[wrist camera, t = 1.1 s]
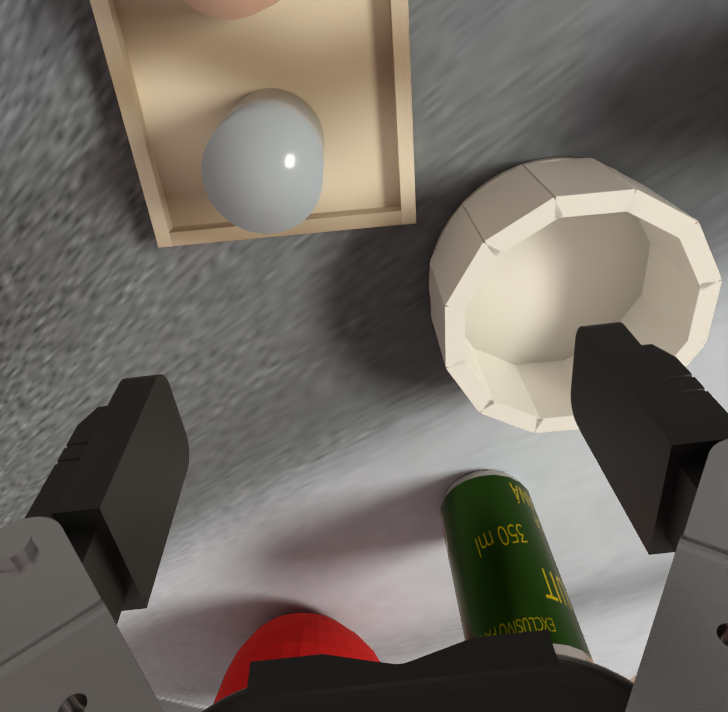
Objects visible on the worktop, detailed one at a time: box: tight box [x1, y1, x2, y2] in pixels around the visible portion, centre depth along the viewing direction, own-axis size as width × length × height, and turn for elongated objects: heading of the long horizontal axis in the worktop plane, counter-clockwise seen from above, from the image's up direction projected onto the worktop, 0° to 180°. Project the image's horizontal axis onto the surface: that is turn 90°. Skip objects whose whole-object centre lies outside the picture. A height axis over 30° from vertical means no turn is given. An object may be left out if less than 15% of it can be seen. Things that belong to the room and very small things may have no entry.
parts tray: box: [90, 0, 416, 247], centre depth 23 cm, size 14×11×1 cm
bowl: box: [429, 157, 722, 433], centre depth 27 cm, size 11×11×5 cm
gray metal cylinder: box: [201, 88, 325, 234], centre depth 22 cm, size 4×4×5 cm
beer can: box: [441, 470, 593, 663], centre depth 31 cm, size 5×5×12 cm
